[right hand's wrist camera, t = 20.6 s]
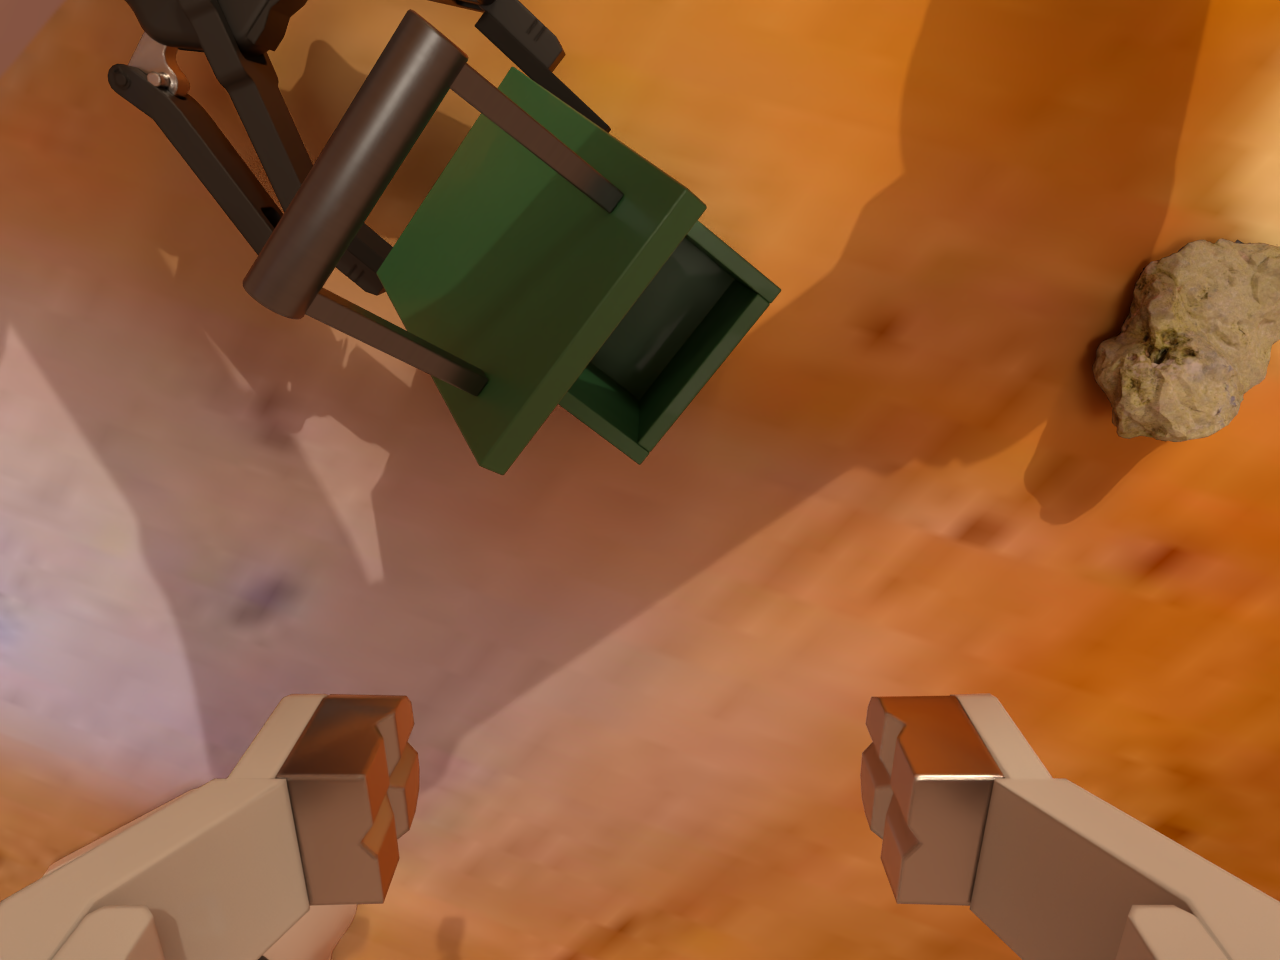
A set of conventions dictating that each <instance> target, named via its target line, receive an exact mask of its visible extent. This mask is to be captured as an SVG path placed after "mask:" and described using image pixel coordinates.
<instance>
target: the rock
mask: <svg viewBox="0 0 1280 960" xmlns="http://www.w3.org/2000/svg"><path fill="white" fill-rule="evenodd" d="M1133 293H1134V294H1133V295H1134V299H1133V301H1132V302H1131V307H1130V313H1129V315H1128V316H1127V318H1126V320H1125V321H1124V323H1123V326H1122V328H1121V333H1120V334H1119V335H1118V336H1114V337H1112V338H1110V339H1108V340H1105V341H1103V342H1101V344H1100V345H1099V346H1098V348H1097V350H1096V359H1095V362H1094V364H1093V368H1092V370H1093V373H1094V377H1095V381H1096V383H1098V385H1099V386H1100V387H1101V389H1102V390H1103V392H1104V393H1105V394H1106V395H1107V397H1108V400H1109V401H1110V402H1111V406H1112V423H1113V424H1114V425H1115V426H1116V427H1117V434H1118V435H1119V436H1120V437H1123V438H1133V437H1137V436H1146V437H1153V438H1155V439H1156V440H1162V441H1172V442H1181V441H1186V440H1191V439H1198V438H1204V437H1208V436H1210V435H1212V434H1214V433H1216V432H1217V431H1219V430H1220V429H1222V428H1223V427H1225V426H1227V425H1228V424H1229V423H1230V422H1231V420H1232V419H1233V418H1234V417H1235V416H1236V415H1237V414H1238V411H1239V408H1240V403H1241V402H1242V400H1243V394H1244V393H1246V392H1247V391H1248V390H1249V389H1251V388H1252V387H1253V386H1255V385H1257V384H1259V383H1260V382H1261V381H1262V380H1264V379H1265V376H1266V373H1267V367H1268V364H1269V361H1270V352H1271V347H1272V344H1274V343H1275V342H1277V341H1278V340H1279V339H1280V247H1275V246H1272V245H1268V244H1264V243H1248V244H1244V243H1242V242H1241V241H1239V240H1237V241H1236V242H1235V243H1234V242H1232V241H1230V240H1225V239H1219V240H1218V241H1217V242H1216V243H1215V244H1213V243H1211V242H1207V241H1206V240H1197V241H1194V242H1191V243H1188V244H1187V245H1185V246H1184V247H1183V248H1181V249H1180V250H1179V251H1178V252H1177V253H1173V254H1172V255H1170V256H1168V257H1165V258H1162V259H1161V260H1157V261H1152V262H1151V263H1150V264H1149V265H1147V266H1146V267H1145V268H1143V272H1142V273H1141V274H1140V278H1139V279H1138V281H1137V282H1136V284H1135V289H1134V292H1133Z"/></svg>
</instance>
